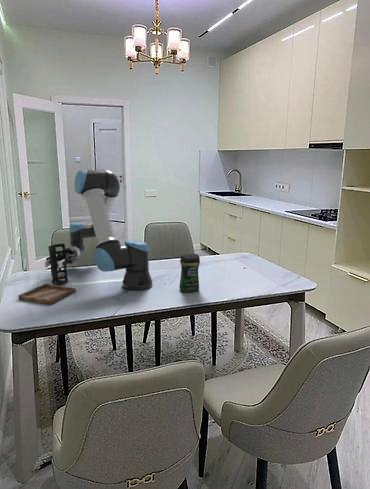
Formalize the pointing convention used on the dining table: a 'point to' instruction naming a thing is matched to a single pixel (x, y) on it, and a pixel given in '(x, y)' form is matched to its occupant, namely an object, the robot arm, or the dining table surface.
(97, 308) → the dining table surface
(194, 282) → the coffee jar
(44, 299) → the tray
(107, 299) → the dining table surface
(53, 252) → the holder
